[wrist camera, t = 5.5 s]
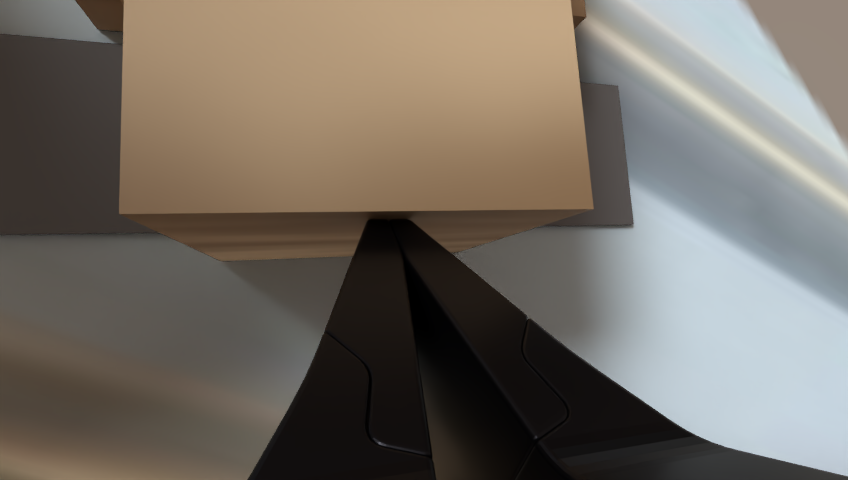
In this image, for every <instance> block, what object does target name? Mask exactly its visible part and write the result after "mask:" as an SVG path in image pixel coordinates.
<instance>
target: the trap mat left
mask: <svg viewBox="0 0 848 480" xmlns="http://www.w3.org/2000/svg"><path fill="white" fill-rule="evenodd" d="M122 62H123V44H111V43H100V42H88V41H77V40H65V39H53V38H42V37H30V36H19V35H7V34H0V235H26V234H103V233H159V232H157V231H155V230H152V229H150V228H148V227H146V226H144V225H142V224H139V223H137V222H135V221H133V220H131V219H129V218H127V217H124V216H122V215H120V214H119V193H120V150H121V106H122Z"/></svg>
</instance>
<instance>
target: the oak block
mask: <svg viewBox="0 0 848 480" xmlns="http://www.w3.org/2000/svg"><path fill="white" fill-rule="evenodd" d="M592 209H594V207H593V198H592V189H591V180H590V171H589V161H588V152H587V143H586V134H585V125H584V116H583V107H582V98H581V89H580V80H579V71H578V62H577V53H576V44H575V35H574V26H573V17H572V8H571V0H124V19H123V62H122V106H121V150H120V193H119V214H120V215H122V216H124V217H127V218H129V219H131V220H133V221H135V222H137V223H139V224H142V225H144V226H146V227H148V228H150V229H152V230H155V231H157V232H159V233H161V234H163V235H165V236H168V237H170V238H172V239H174V240H176V241H178V242H181V243H183V244H185V245H187V246H189V247H191V248H194V249H196V250H198V251H200V252H202V253H204V254H207V255H209V256H211V257H213V258H215V259H217V260H219V261H238V260H265V259H292V258H319V257H345V256H353V255H354V252H355V250H356V247H357V245H358V242H359V239H360V237H361V234H362V232H363V229H364V226H365V224H366V222H367V220H370V219H386V220H388V221H390V220H392V219H409V220H411V221H412V222H414V223H415V224H416V225H417V226H418V227H420V228H421V229H422V230H423V231H425V232H426V233H427V234H428V235H429V236H431V237H432V238H433V239H434V240H436V241H437V242H438V243H439V244H440V245H442V246H443V247H444V248H445V249H446V250H448V251H449V252H450V253H452V252H460V251H463V250H466V249H469V248H473V247H476V246H479V245H482V244H485V243H488V242H492V241H495V240H498V239H501V238H504V237H507V236H510V235H514V234H517V233H520V232H523V231H526V230H529V229H533V228H536V227H539V226H542V225H545V224H548V223H551V222H555V221H558V220H561V219H564V218H567V217H570V216H573V215H577V214H580V213H583V212H586V211H589V210H592Z"/></svg>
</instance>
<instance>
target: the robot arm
mask: <svg viewBox="0 0 848 480" xmlns="http://www.w3.org/2000/svg"><path fill="white" fill-rule="evenodd" d="M527 318H528V317H527V315H526V314H524V313H523V312H522V311H521V310H519V309H518V308H517V307H516V306H515V305H513V304H512V303H511V302H510V301H509V300H507V299H506V298H505V297H504V296H502V295H501V294H500V293H499V292H498V291H496V290H495V289H494V288H493V287H491V286H490V285H489V284H488V283H487V282H485V281H484V280H483V279H482V278H481V277H479V276H478V275H477V274H476V273H474V272H473V271H472V270H471V269H470V268H468V267H467V266H466V265H465V264H464V263H462V262H461V261H460V260H459V259H457V258H456V257H455V256H454V255H453V254H451V253H450V252H449V251H448V250H446V249H445V248H444V247H443V246H442V245H440V244H439V243H438V242H437V241H436V240H434V239H433V238H432V237H431V236H429V235H428V234H427V233H426V232H425V231H423V230H422V229H421V228H420V227H418V226H417V225H416V224H415V223H414V222H412V221H411V220H409V219H392V220H390V221H388V220H386V219H370V220H367V222H366V224H365V226H364V229H363V232H362V234H361V237H360V239H359V242H358V245H357V247H356V250H355V252H354V255H353V258H352V260H351V263H350V265H349V268H348V271H347V273H346V276H345V279H344V281H343V284H342V286H341V289H340V292H339V294H338V297H337V299H336V302H335V305H334V307H333V310H332V312H331V315H330V318H329V320H328V323H327V325H326V328H325V331H324V334H323V335H322V338H321V340H320V343H319V345H318V348H317V351H316V353H315V355H314V358H313V360H312V362H311V365H310V367H309V369H308V371H307V374H306V376H305V378H304V380H303V382H302V384H301V386H300V388H299V390H298V392H297V393H296V395H295V397H294V399H293V401H292V403H291V405H290V407H289V409H288V410H287V412H286V414H285V416H284V417H283V419H282V421H281V422H280V424H279V426H278V428H277V429H276V431H275V433H274V435H273V436H272V438H271V440H270V442H269V443H268V445H267V447H266V449H265V450H264V452H263V454H262V456H261V457H260V459H259V461H258V463H257V464H256V466H255V468H254V469H253V471H252V473H251V475H250V476H249V478H248V480H848V476H844V475H839V474H835V473H831V472H827V471H823V470H818V469H814V468H810V467H806V466H802V465H797V464H793V463H789V462H785V461H781V460H776V459H772V458H768V457H764V456H760V455H755V454H751V453H747V452H743V451H739V450H735V449H731V448H727V447H724V446H721V445H718V444H715V443H713V442H710V441H708V440H705V439H703V438H701V437H699V436H696V435H694V434H693V433H691V432H689V431H687V430H685V429H683V428H682V427H680V426H679V425H677V424H675V423H674V422H672V421H671V420H669V419H668V418H666V417H665V416H663V415H662V414H661V413H659V412H658V411H656V410H655V409H653V408H652V407H650V406H649V405H648V404H646V403H645V402H643V401H642V400H640V399H639V398H637V397H636V396H635V395H633V394H632V393H630V392H629V391H627V390H626V389H624V388H623V387H622V386H620V385H619V384H617V383H616V382H614V381H613V380H611V379H610V378H609V377H607V376H606V375H604V374H603V373H601V372H600V371H599V370H597V369H596V368H594V367H593V366H592V365H590V364H589V363H587V362H586V361H585V360H583V359H582V358H580V357H579V356H578V355H576V354H575V353H574V352H572V351H571V350H569V349H568V348H567V347H566V346H564V345H563V344H562V343H561V342H559V341H558V340H557V339H555V338H554V337H553V336H552V335H550V334H549V333H548V332H546V331H545V330H544V329H543V328H542V327H540V326H539V325H538V324H537V323H536V322H534V321H533V320H532V319H528V320H527Z"/></svg>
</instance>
